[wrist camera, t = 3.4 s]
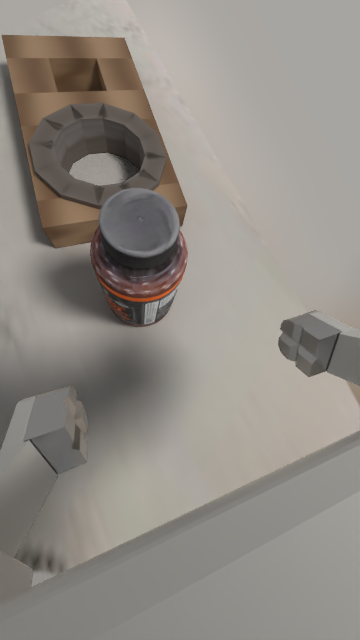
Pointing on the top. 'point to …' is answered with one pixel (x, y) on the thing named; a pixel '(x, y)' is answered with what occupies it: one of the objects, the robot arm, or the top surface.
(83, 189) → the bore board
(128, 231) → the supplement bottle
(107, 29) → the top surface
